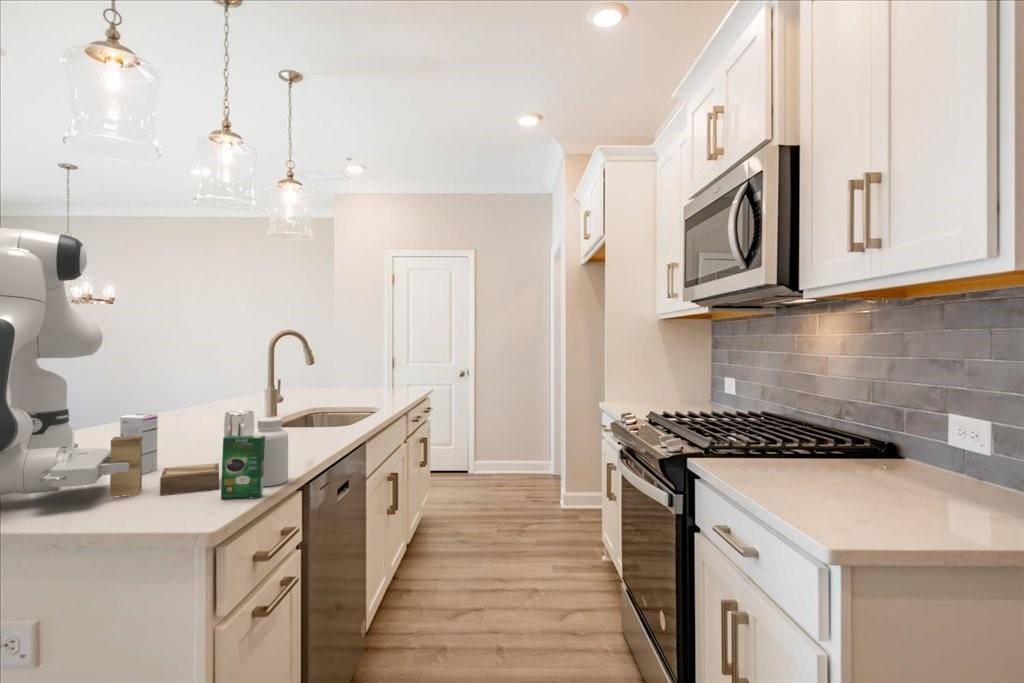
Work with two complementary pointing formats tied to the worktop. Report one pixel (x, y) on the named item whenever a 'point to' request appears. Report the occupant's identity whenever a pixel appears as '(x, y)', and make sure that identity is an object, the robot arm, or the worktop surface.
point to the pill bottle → (274, 451)
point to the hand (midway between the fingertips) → (131, 462)
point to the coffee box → (242, 466)
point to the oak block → (130, 452)
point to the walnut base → (189, 478)
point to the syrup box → (149, 430)
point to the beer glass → (239, 423)
